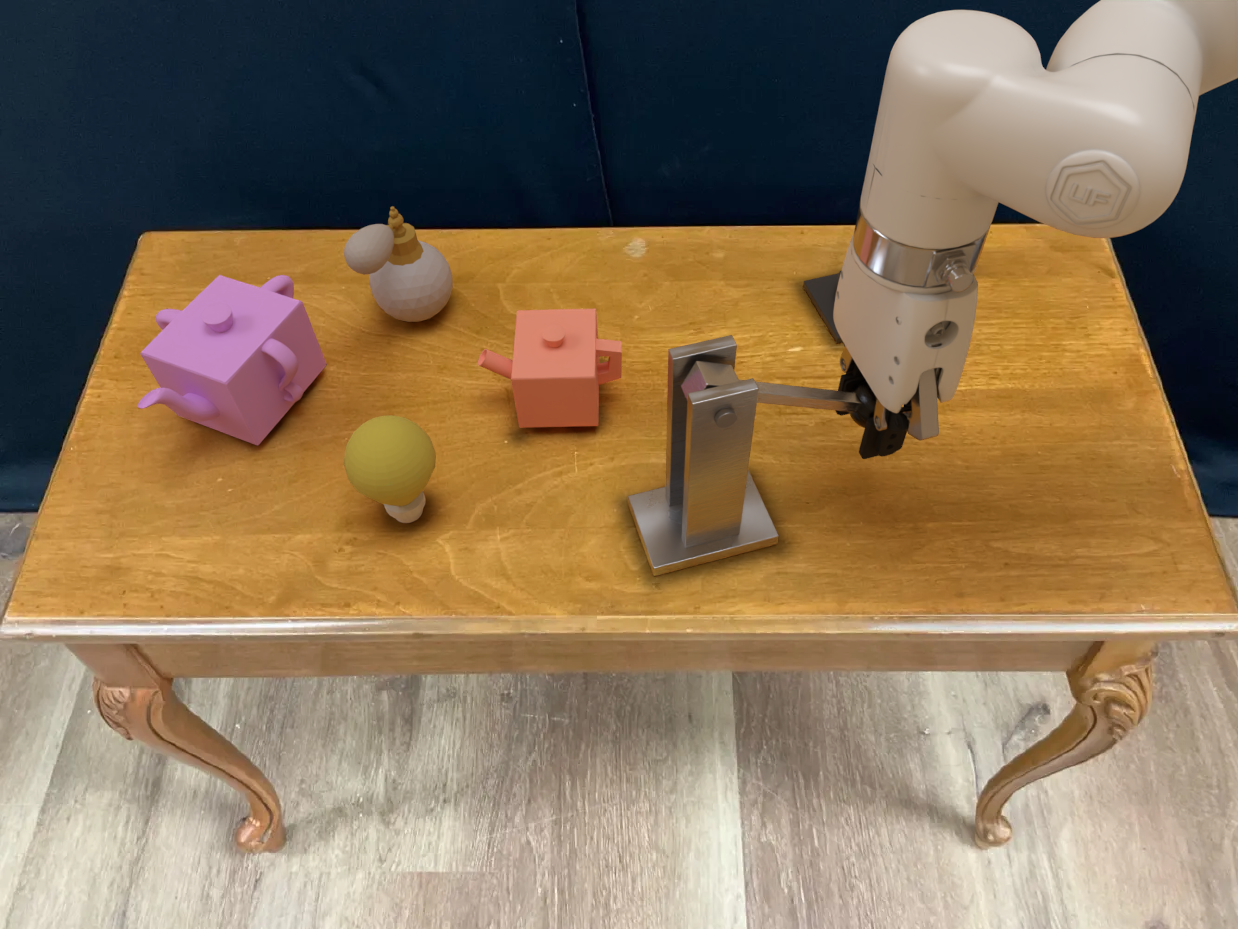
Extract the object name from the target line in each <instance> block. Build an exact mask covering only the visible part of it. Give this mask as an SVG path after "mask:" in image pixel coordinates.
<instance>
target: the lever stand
mask: <svg viewBox="0 0 1238 929" xmlns="http://www.w3.org/2000/svg"><path fill="white" fill-rule="evenodd" d="M737 348H738V344H737V342H736V340H735V338H734V336H733V335H732V334H729V335H725V336H721V337H715V338H711V339H707V340H703V341H699V342H694V343H690V344H689V343H688V344H685V345H681V346H677V347H671V348H668V350H667V352H668V353H667V355H668V356H667V396H666V398H667V399H666V400H667V402H666V403H667V404H666V447H665V450H666V451H665V453H666V454H665V486H662V487H658V488H654V489H650V490H646V491H641V492H639V493H634V494H630V495H627V506H628V509H629V511H630V513H631V517H632V520H633V523H634V525H635V528H636V531H637V535H638V536H639V539H640V542H641V545H642V548H643V550H644V553H645V556H646V559H647V562H648V565H649V567H650V571H651V573H652V576H653V577H657V576H660V575H665V574H668V573H669V574H670V573H673V572H676V571H680V570H684V569H688V568H691V567H696V566H699V565H703V564H706V563H710V562H714V561H715V562H716V561H718V560H723V559H726V558H729V557H733V556H738V555H742V554H745V553H749V552H752V551H758V550H760V549H765V548H768V547H772V546H775V545H776V546H777V545H778V543H779V538H780V535H779V533H778V531H777V529H776V527H775V524H774V522H773V520H772V518H771V515H770V514H769V511H768V508H767V507H766V505H765V503H764V500H763V498H762V496H761V494H760V492H759V490H758V487H757V485H756V483H755V481H754V479H753V476H752V475H751V472H750V470H749V466H750V458H751V451H752V442H753V436H754V435H753V434H754V428H755V421H756V414H757V413H756V412H757V407H758V406H757V404H758V403H757V398H758V390H759V388H758V386H757V384H756V382H757V381H756V380H755V379H754V378H753V377H752V378H748V379H742V380H743V381H739V382H734V383H730V384H726V385H721V386H717V387H713V388H709V389H704V390H700V391H696V392H691V393H688V402H687V399H686V397H685V395H684V393H683V390H682V388H681V385H682V383H683V382H684V380H685V379H686V377H687V375H688V374H689V372H690V370H691V369H692V367H693V366H694V364H695V362H696V361H703V362H711V363H719V364H727V365H732V367H733V369H734V370H735V368H736V359H737V358H736V357H737ZM755 381H756V382H755Z"/></svg>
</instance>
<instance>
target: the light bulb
mask: <svg viewBox="0 0 1238 929" xmlns="http://www.w3.org/2000/svg"><path fill="white" fill-rule="evenodd" d="M436 453H437V452H436V450H435V447H434V444H433V441H432V439H431V436H429V434H428V433H427V432H426V431H425V429H423V428H422V426H421V425H419V424H418V423H416V422H415V421H413V420H411V419H409V418H407V417H405V416H399V415H395V414H391V415H390V414H389V415H379V416H376V417H373V418H371V419H368V420H367V421H365V422H363V423H362V424H360V425H359V427H357V428H356V429H355V430H354V431H353V433H352V434H351V436H350V438H349V440H348V441H347V443H346V444H345V449H344V457H343V465H344V469H345V470H344V471H345V473H346V478H347V480H348V482H349V483H350V484H351V486H352V487H353V488H354V489H355V491H356V493H357V492H358V493H360V494H361V495H363V496H365V497H366V498H368V499H370V500H373V501H374V502H377V503H379V504H381V505H383V507H384V509H385V511H386V513H387V514H388V515H389V516H390V517H391V518H393V519H395V520H396V521H397V522H399V523H403V524H410V523H413V522H416V521H417V520H419V518H420V517H421V516H422V514H423V513H424V512H423V511H424V507H425V506H426V500H427V498H426V496H425V493H424V490H425V489H426V487H427V485H428V483H429V481H430V479H431V477H432V475H433V472H434V470H435V468H436V461H437V460H436V459H437V454H436Z"/></svg>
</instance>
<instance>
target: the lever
mask: <svg viewBox="0 0 1238 929" xmlns="http://www.w3.org/2000/svg"><path fill="white" fill-rule="evenodd" d="M743 380H744V379H739V377H738V375H737V373H736V371H735V369H733V367H732V365H727V364H719V363H711V362H703V361H696V362H695V364H694V366H693V367H692V369H691V370H690V372H689V374H688V375H687V377H686V379H685V380H684V382H683V383H682V385H681V388H682V390H683V393H684V395H685V397H686V399H687V402H688V393H691V392H696V391H700V390H704V389H709V388H713V387H717V386H721V385H726V384H730V383H734V382H739V381H743ZM755 382H756V384H757V386H758V388H759V390H758V398H757V404H766V405H767V404H768V405H775V406H777V405H778V406H785V407H787V406H788V407H797V408H807V409H817V410H827V411H835V410H836V411H846V412H849V414H848V415H849V417H850V418H851V419H852V421H853V422H854V423H855V424H857V425H858V426H860V427H861V428H864V429H865V425H866V421H867V420H868V419H869V418H871V417H874V411H875V404H876V396H875V394H874V392H873V391H872V389H871V388H870V386H869V384H868V383H867V381H864V382H862V383H860V384H858V385H857V386H856V387H855V388H854V389H853V390H852V392H845V391H838V390H835V389H826V388H818V387H817V388H816V387H808V386H799V385H790V384H781V383H772V382H764V381H756V380H755ZM836 411H835V412H836Z"/></svg>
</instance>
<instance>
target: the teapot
mask: <svg viewBox="0 0 1238 929" xmlns="http://www.w3.org/2000/svg"><path fill="white" fill-rule="evenodd" d="M294 294H295V284H294V282H293V279H292V278H291V277H290V276H289V275H285V274H280V275H276V276H273V277H271V278H270V279H269V280H268V281H266V282H265V283H264V284H262V285H261V286H260V287H259V286H256V285H254V284H250V283H247V282H243V281H240V280H237V279H233V278H230V277H227V276H224V275H222V274H219V275H217V276H216V277H215V278H214V279H213V280H212V281H211V282H210V283H209V284H208V285H206V287H205V288H204V289H203V290H202V291H201V292H200V293H198V295H196V297H194V298H193V300H191V301H190V303H189V304H187V306H185V308H184V309H182V310H180V309H176V308H164V309H161V310H160V311H158V312H157V313H156V315H155V322H156V324H157V325H158V327H159V328H160V329H161V331H160V332H159V333H158V334H157V335H156V336H155V337H154V338H153V339H152V340H151V341H149V343H148V344H147V345H146V347H144V348H143V349H142V350H141V352H140V354H139V355H140V356H141V358H142V359H143V361H144V362H145V364H146V366H147V368H148V369H149V371H150V373H151V374H152V376H153V377H154V379H155V381H156V383H157V384H158V386H159V387H157V388H153V389H151V390H150V391H148V392H147V393H146V394H145V395H143V397H141V399H140V400H139V402H138V404H137V408H139V409H146V408H147V409H148V408H149V407H152V406H155V405H157V404H158V405H164V406H166V407H167V408H169V409H170V411H172V412H174V414H176V416H177V417H181V418H183V419H186V420H188V421H191V422H194V423H196V424H199V425H202V426H205V427H207V428H209V429H212V430H215V431H217V432H221V433H223V434H226V435H227V436H231V437H233V438H236V439H238V440H240V441H241V440H242V441H244V442H247V443H250V444H252V445H255V446H259V445H260V444H261V443H262V442H263V441H264V439H265V438H266V437H267V436H268V435H269V434H270V432H271V431H272V430H273V429H274V428H275V427H276V426H277V425H278V423H279V422H280V421H281V420H282V418H283V417H284V416H285V415H286V414H287V413H288V411H289V410H290V409H291V408H292V407H293V406H294V405H295V403H296V402H298V401H300V400H301V398H302V397H303V395H304V392H306V390H307V389H308V388H309V387H310V386H311V384H312V383H313V382H314V381H315V379H316V378H317V377H318V376H319V375H320V374H321V372H322V371H324V369H325V368H326V366H327V362H326V359H325V357H324V354H323V351H322V348H321V345H320V343H319V341H318V338H317V336H316V333H315V331H314V328H313V325H312V323H311V320H310V317H309V315H308V313H307V309H306V307H305V304H304V302H303V301H302V300H299V299H295V298H294Z"/></svg>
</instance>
